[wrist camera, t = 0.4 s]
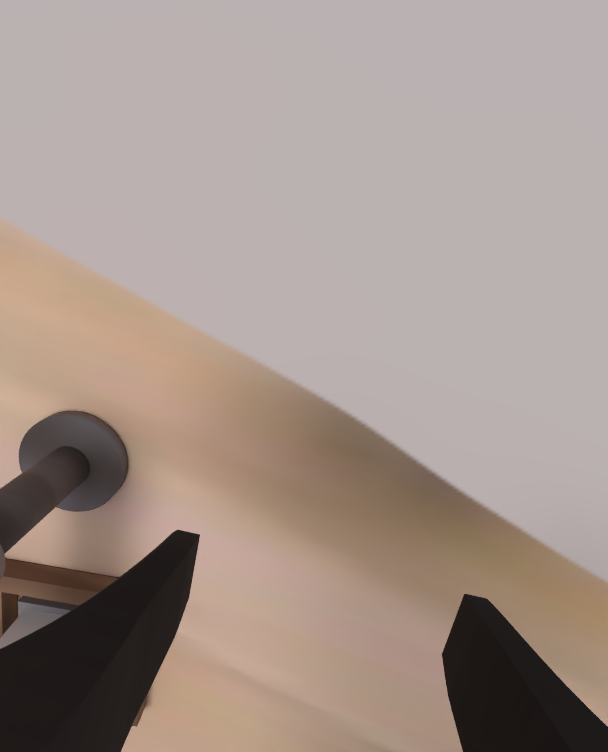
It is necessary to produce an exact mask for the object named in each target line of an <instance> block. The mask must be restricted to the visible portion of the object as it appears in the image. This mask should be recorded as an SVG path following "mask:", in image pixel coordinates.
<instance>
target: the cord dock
mask: <svg viewBox="0 0 608 752" xmlns="http://www.w3.org/2000/svg"><path fill="white" fill-rule="evenodd" d="M19 463H20V468H21V471H22V474H20V475H19V476H18V477H16V478H15V479H13V480H12V481H11V482H9V483H8V484H6V485H5V486H4V487H2V488H1V489H0V544H1V546H2V549H3V551H4V554H5V553H6V552H7V551H8V550H9V549H10V548H11V547H12V546H14V545H15V544H16V543H17V542H18V541H19V540H20V539H21V538H22V537H23V536H24V535H26V534H27V533H28V532H29V531H30V530H31V529H32V528H33V527H34V526H35V525H36V524H38V523H39V522H40V521H41V520H42V519H43V518H44V517H45V516H46V515H47V514H48V513H49V512H51V511H52V510H53V509H54V508H55V507H57V508H60V509H63V510H68V511H75V512H78V511H89V510H92V509H95V508H98V507H100V506H101V505H103V504H105V503H106V502H107V501H108V500H109V499H110V498H111V497H112V496H113V495H114V494H115V493H116V492H117V490H118V489H119V488H120V487H121V485H122V484H123V482H124V480H125V478H126V474H127V468H128V460H127V454H126V450H125V448H124V445H123V443H122V441H121V440H120V438H119V436H118V435H117V434H116V432H115V431H114V430H113V429H112V428H111V427H110V426H109V425H107V424H106V423H105V422H104V421H102V420H100V419H99V418H97V417H95V416H93V415H90V414H87V413H84V412H79V411H64V412H59V413H55V414H53V415H51V416H49V417H47V418H45V419H43V420H42V421H40V422H38V423H37V424H35V425H34V426H33V427H31V428H30V429H29V430H28V432H27V433H26V434H25V436H24V438H23V439H22V442H21V445H20V450H19ZM5 562H6V565H5V572H4V575H3V577H2V579H1V580H0V638H1V637H2V636H3V634H4V633H5V632H6V631H7V630H8V629H9V627H10V626H11V625H12V624H13V623H14V622H15V620H16V619H17V618H18V617H17V595H22V596H28V597H34V598H39V599H45V600H51V601H57V602H63V603H68V604H74V605H81V604H82V603H84V602H85V601H87V600H88V599H90V598H91V597H93V596H94V595H96V594H97V593H99V592H100V591H101V590H103V589H104V588H106V587H107V586H108V585H110V584H111V583H113V582H114V581H115V580H117V579H118V578H115V577H109V576H104V575H98V574H92V573H86V572H80V571H74V570H68V569H63V568H57V567H51V566H45V565H39V564H33V563H28V562H22V561H16V560H10V559H5ZM145 705H146V697H145V700H144V702H143V704H142V706H141V708H140V710H139V712H138V714H137V716H136V718H135V720H134V722H133V724H132V726H137V725H138V723H139V720H140V718H141V715H142V713H143V710H144V708H145Z"/></svg>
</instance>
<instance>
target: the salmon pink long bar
mask: <svg viewBox="0 0 608 752" xmlns="http://www.w3.org/2000/svg"><path fill="white" fill-rule="evenodd" d="M5 565H6V562H5V555H4V551H3V549H2V546H1V544H0V580H1V579H2V577H3V575H4V572H5Z"/></svg>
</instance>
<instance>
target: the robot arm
mask: <svg viewBox="0 0 608 752" xmlns="http://www.w3.org/2000/svg"><path fill="white" fill-rule="evenodd" d="M199 537H200V535H199V534H194V533H190V532H185V531H181V530H176V531H175V532H173V533H172V534H171V535H170V536H169V537H168V538H166V539H165V540H164V541H163V542H162V543H161V544H160V545H159V546H158V547H156V548H155V549H154V550H153V551H152V552H151V553H149V554H148V555H147V556H146V557H145V558H143V559H142V560H141V561H140V562H139V563H137V564H136V565H135V566H133V567H132V568H131V569H130V570H128V571H127V572H126V573H125V574H123V575H122V576H121V577H119V578H118V579H117V580H115V581H114V582H113V583H111V584H110V585H108V586H107V587H106V588H104V589H103V590H101V591H100V592H99V593H97V594H96V595H94V596H93V597H91V598H90V599H88V600H87V601H85V602H84V603H82V604H81V605H79V606H78V607H76V608H74V609H73V610H71V611H70V612H68V613H66V614H65V615H63V616H61V617H60V618H58V619H56V620H55V621H53V622H51V623H49V624H47V625H46V626H44V627H42V628H40V629H38V630H36V631H34V632H33V633H31V634H29V635H27V636H25V637H23V638H21V639H19V640H17V641H15V642H13V643H11V644H9V645H7V646H5V647H3V648H1V649H0V752H121V750H122V747H123V745H124V742H125V740H126V738H127V736H128V733H129V731H130V729H131V727H132V724H133V722H134V720H135V718H136V716H137V714H138V712H139V710H140V708H141V706H142V704H143V702H144V700H145V697H146V695H147V693H148V691H149V689H150V687H151V685H152V683H153V681H154V679H155V677H156V675H157V673H158V671H159V669H160V666H161V664H162V662H163V660H164V658H165V656H166V654H167V652H168V650H169V648H170V646H171V644H172V641H173V639H174V637H175V635H176V632H177V629H178V627H179V624H180V621H181V618H182V616H183V613H184V610H185V607H186V604H187V602H188V599H189V594H190V588H191V583H192V577H193V571H194V566H195V560H196V554H197V549H198V543H199ZM442 657H443V665H444V672H445V679H446V685H447V691H448V697H449V701H450V705H451V709H452V712H453V716H454V720H455V724H456V727H457V731H458V735H459V738H460V742H461V746H462V749H463V752H608V727H607V726H606V725H605V724H604V723H603V722H602V721H601V720H600V719H599V718H598V717H597V716H596V715H595V714H594V713H593V712H592V711H591V710H590V709H589V708H588V707H587V706H586V705H585V704H584V703H583V702H582V701H581V700H580V699H579V698H578V697H577V696H576V695H575V694H574V693H573V692H572V691H571V690H570V689H569V688H568V687H567V686H566V685H565V684H564V683H563V682H562V681H561V679H560V678H559V677H558V676H557V675H556V674H555V673H554V672H553V671H552V670H551V669H550V668H549V667H548V666H547V664H546V663H545V662H544V661H543V660H542V659H541V658H540V657H539V656H538V655H537V653H536V652H535V651H534V650H533V649H532V648H531V647H530V646H529V644H528V643H527V642H526V641H525V640H524V639H523V638H522V637H521V635H520V634H519V633H518V632H517V631H516V630H515V629H514V627H513V626H512V625H511V624H510V623H509V622H508V621H507V620H506V618H505V617H504V616H503V615H502V614H501V613H500V612H499V611H498V610H497V609H496V607H495V606H494V605H493V604H492V603H491V602H490V601H489V600H488V599H486V598H481V597H477V596H472V595H468V594H464V597H463V599H462V602H461V605H460V607H459V610H458V613H457V615H456V618H455V621H454V623H453V626H452V629H451V631H450V634H449V637H448V640H447V642H446V645H445V648H444V650H443V653H442Z"/></svg>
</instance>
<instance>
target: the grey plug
mask: <svg viewBox="0 0 608 752" xmlns="http://www.w3.org/2000/svg"><path fill="white" fill-rule="evenodd" d="M78 606H79V605H74V604H68V603H63V602H57V601H51V600H45V599H39V598H34V597H28V596H22V598H21V599H20V600H19V601H18V618H17V619H16V620H15V622H14V623H13V624H12V625H11V626H10V627H9V629H8V630H7V631H6V632H5V633H4V634H3V636H2V637H1V638H0V649H1V648H3V647H5V646H7V645H9V644H11V643H13V642H15V641H17V640H19V639H21V638H23V637H25V636H27V635H29V634H31V633H33V632H34V631H36V630H38V629H40V628H42V627H44V626H46V625H47V624H49V623H51V622H53V621H55V620H56V619H58V618H60V617H61V616H63V615H65V614H66V613H68V612H70V611H71V610H73V609H74V608H76V607H78Z"/></svg>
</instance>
